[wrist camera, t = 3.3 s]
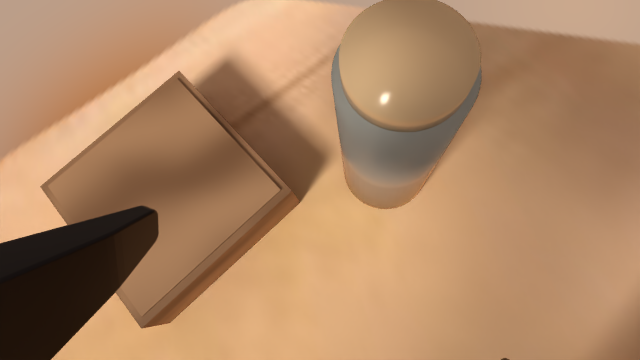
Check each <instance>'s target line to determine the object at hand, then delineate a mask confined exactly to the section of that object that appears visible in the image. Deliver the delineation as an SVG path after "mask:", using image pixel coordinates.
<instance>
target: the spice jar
mask: <svg viewBox="0 0 640 360" xmlns="http://www.w3.org/2000/svg"><path fill="white" fill-rule="evenodd" d="M480 63H481V52H480V45H479V42H478V39H477V36H476V34H475V32H474V30H473V28H472V27H471V25H470V24H469V23H468V21H467V20H466V19H465V18H464V17H463V16H462V15H461V14H460V13H458V12H457V11H455V10H454V9H453V8H451V7H450V6H448V5H446V4H444V3H442V2H439V1H437V0H383V1H381V2H378V3H376V4H374V5H372V6H370V7H369V8H367V9H366V10H364V11H363V12H362V13H360V14H359V15H358V16H357V17H356V18H355V19H354V20H353V21H352V23H351V24H350V25H349V27H348V28H347V30H346V32H345V34H344V36H343V38H342V41H341V44H340V46H339V47H338V49H337V52H336V54H335V56H334V60H333V64H332V72H331V77H332V88H333V95H334V102H335V110H336V117H337V124H338V131H339V139H340V146H341V153H342V160H343V167H344V174H345V179H346V182H347V185H348V187H349V189H350V190H351V192H352V193H353V194H354V195H355V197H357V198H358V199H359V200H360V201H362V202H363V203H365V204H367V205H369V206H372V207H375V208H380V209H391V208H396V207H400V206H402V205H404V204H406V203H408V202H410V201H411V200H412V199H413V198H414V197H415V196H416V195H417V194H418V193H419V191H420V190H421V188H422V187H423V185H424V184H425V182H426V180H427V179H428V177H429V176H430V174H431V172H432V171H433V169H434V168H435V166H436V164H437V163H438V161H439V160H440V158H441V156H442V155H443V153H444V151H445V150H446V148H447V147H448V145H449V143H450V142H451V140H452V139H453V137H454V135H455V134H456V132H457V131H458V129H459V127H460V126H461V124H462V123H463V121H464V119H465V118H466V116H467V115H468V113H469V111H470V110H471V108H472V107H473V105H474V103H475V101H476V99H477V96H478V93H479V90H480V85H481V66H480Z"/></svg>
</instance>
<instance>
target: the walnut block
mask: <svg viewBox="0 0 640 360" xmlns="http://www.w3.org/2000/svg"><path fill="white" fill-rule="evenodd" d="M40 187H41V188H42V190H43V191H44V193H45V194H46V195H47V197H48V198H49V200H50V201H51V202H52V204H53V205H54V207H55V208H56V209H57V211H58V212H59V214H60V215H61V216H62V218H63V219H64V221H65V222H66V223H67V225H70V224H74V223H78V222H81V221H85V220H89V219H92V218H96V217H100V216H103V215H107V214H111V213H115V212H118V211H122V210H126V209H129V208H133V207H137V206H141V205H144V206H147V207H150V208H152V209H154V210H156V211H157V213H158V225H159V235H158V238H157V240H156V242H155V243H154V245H153V246H152V247H151V249H150V250H149V251H148V252H147V254H146V255H145V256H144V258H143V259H142V260H141V261H140V263H139V264H138V265H137V267H136V268H135V269H134V270H133V272H132V273H131V274H130V275H129V277H128V278H127V279H126V281H125V282H124V283H123V284H122V285H121V287H120V288H119V289H118V290H117V291H116V294H117V295H118V296H119V298H120V299H121V301H122V302H123V303H124V305H125V306H126V308H127V309H128V310H129V312H130V313H131V315H132V316H133V317H134V319H135V320H136V322H137V323H138V324H139V326H140V327H141V328H146V327H152V326H157V325H162V324H167V323H170V322H171V321H172V320H173V319H174V318H176V317H177V316H178V315H179V314H180V313H181V312H182V311H183V310H184V309H185V308H186V307H187V306H189V305H190V304H191V303H192V302H193V301H194V300H195V299H196V298H197V297H198V296H199V295H200V294H202V293H203V292H204V291H205V290H206V289H207V288H208V287H209V286H210V285H211V284H212V283H213V282H215V281H216V280H217V279H218V278H219V277H220V276H221V275H222V274H223V273H224V272H225V271H226V270H228V269H229V268H230V267H231V266H232V265H233V264H234V263H235V262H236V261H237V260H238V259H239V258H241V257H242V256H243V255H244V254H245V253H246V252H247V251H248V250H249V249H250V248H251V247H252V246H254V245H255V244H256V243H257V242H258V241H259V240H260V239H261V238H262V237H263V236H264V235H265V234H267V233H268V232H269V231H270V230H271V229H272V228H273V227H274V226H275V225H276V224H277V223H278V222H280V221H281V220H282V219H283V218H284V217H285V216H286V215H287V214H288V213H289V212H290V211H291V210H293V209H294V208H295V207H296V206H297V205H298V204H299V203H300V202H299V200H298V199H297V197H296V196H295V194H294V193H293V192H292V190H291V189H290V188H289V187H288V186H287V185H286V184H285V183H284V182H283V181H282V180H281V179H280V178H279V176H278V175H277V174H276V173H275V172H274V171H273V170H272V169H271V168H270V167H269V166H268V165H267V164H266V163H265V162H264V161H263V159H262V158H261V157H260V156H259V155H258V154H257V153H256V152H255V151H254V150H253V149H252V148H251V147H250V146H249V145H248V143H247V142H246V141H245V140H244V139H243V138H242V137H241V136H240V135H239V134H238V133H237V132H236V131H235V130H234V129H233V128H232V126H231V125H230V124H229V123H228V122H227V121H226V120H225V119H224V118H223V117H222V116H221V115H220V114H219V113H218V112H217V111H216V109H215V108H214V107H213V106H212V105H211V104H210V103H209V102H208V101H207V100H206V99H205V98H204V97H203V96H202V95H201V94H200V92H199V91H198V90H197V89H196V88H195V87H194V86H193V85H192V84H191V83H190V82H189V81H188V80H187V79H186V78H185V77H184V75H183V74H182V73H181V72H180V71H178V72H177V73H176V74H174V75H173V76H172V77H171V78H170V79H168V80H167V81H166V82H165V83H164V84H162V85H161V86H160V87H159V88H158V89H156V90H155V91H154V92H153V93H152V94H151V95H149V96H148V97H147V98H146V99H145V100H143V101H142V102H141V103H140V104H139V105H137V106H136V107H135V108H134V109H133V110H131V111H130V112H129V113H128V114H127V115H125V116H124V117H123V118H122V119H121V120H119V121H118V122H117V123H116V124H115V125H113V126H112V127H111V128H110V129H109V130H107V131H106V132H105V133H104V134H103V135H101V136H100V137H99V138H98V139H97V140H95V141H94V142H93V143H92V144H91V145H89V146H88V147H87V148H86V149H85V150H83V151H82V152H81V153H80V154H79V155H77V156H76V157H75V158H74V159H73V160H71V161H70V162H69V163H68V164H67V165H65V166H64V167H63V168H62V169H61V170H59V171H58V172H57V173H56V174H55V175H53V176H52V177H51V178H50V179H49V180H48V181H46V182H45V183H44V184H43V185H42V186H40Z"/></svg>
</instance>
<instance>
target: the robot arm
mask: <svg viewBox="0 0 640 360" xmlns="http://www.w3.org/2000/svg"><path fill="white" fill-rule="evenodd" d="M158 235H159V225H158V213H157V211H156V210H154V209H152V208H150V207H147V206H144V205H141V206H137V207H133V208H129V209H126V210H122V211H118V212H115V213H111V214H107V215H103V216H100V217H96V218H92V219H89V220H85V221H81V222H78V223H74V224H70V225H66V226H63V227H59V228H55V229H52V230H48V231H44V232H41V233H37V234H33V235H29V236H26V237H22V238H18V239H15V240H11V241H7V242H3V243H0V360H51V359H52V358H53V357H54V356H55V355H56V354H57V353H58V352H59V351H60V350H61V348H62V347H63V346H64V345H65V344H66V343H67V342H68V341H69V340H70V339H71V338H72V337H73V336H74V335H75V334H76V333H77V332H78V331H79V330H80V329H81V328H82V327H83V326H84V325H85V323H86V322H87V321H88V320H89V319H90V318H91V317H92V316H93V315H94V314H95V313H96V312H97V311H98V310H99V309H100V308H101V307H102V306H103V305H104V304H105V303H106V302H107V301H108V299H109V298H110V297H111V296H112V295H113V294H114V293H115V292H116V291H117V290H118V289H119V288H120V287H121V285H122V284H123V283H124V282H125V281H126V279H127V278H128V277H129V275H130V274H131V273H132V272H133V270H134V269H135V268H136V267H137V265H138V264H139V263H140V261H141V260H142V259H143V258H144V256H145V255H146V254H147V252H148V251H149V250H150V249H151V247H152V246H153V245H154V243H155V242H156V240H157V238H158ZM501 360H509V359H507V358H503V359H501Z"/></svg>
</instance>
